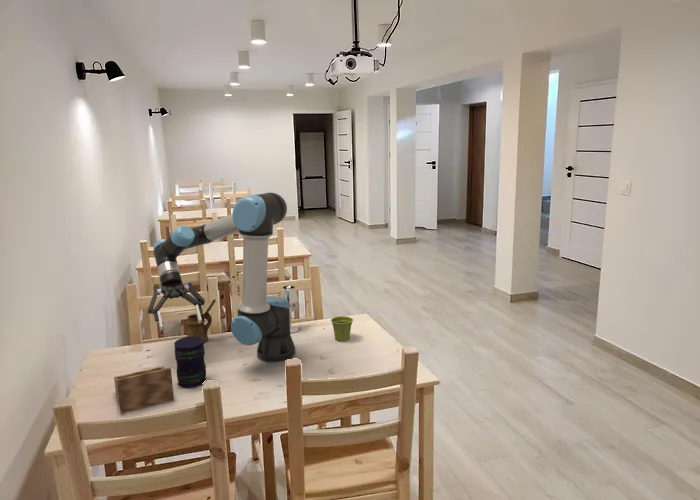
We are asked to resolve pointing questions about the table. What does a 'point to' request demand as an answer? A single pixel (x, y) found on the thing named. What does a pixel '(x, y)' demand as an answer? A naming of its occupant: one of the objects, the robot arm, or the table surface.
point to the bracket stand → (144, 388)
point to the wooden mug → (199, 324)
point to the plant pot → (342, 327)
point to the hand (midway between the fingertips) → (181, 325)
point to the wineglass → (290, 301)
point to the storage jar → (190, 362)
